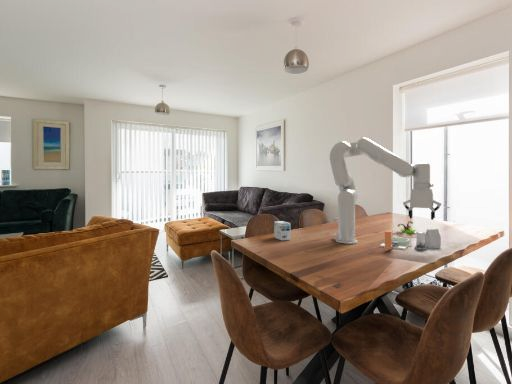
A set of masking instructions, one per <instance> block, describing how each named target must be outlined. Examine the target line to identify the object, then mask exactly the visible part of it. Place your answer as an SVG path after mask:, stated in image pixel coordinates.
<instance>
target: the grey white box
mask: <svg viewBox="0 0 512 384" xmlns="http://www.w3.org/2000/svg"><path fill="white" fill-rule="evenodd" d="M441 243H442V237H441V234H440V231H439V229H438V228H433V229H432V228H431V229H430V228H429V229H426V231H425V247H427V249H441V247H442V246H441V245H442V244H441Z"/></svg>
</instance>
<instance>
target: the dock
mask: <svg viewBox="0 0 512 384" xmlns="http://www.w3.org/2000/svg"><path fill="white" fill-rule="evenodd" d="M392 243H393V244H395V245H394V246H393V247H392V250H393V249H395V250H400V251H405V250H407V249H408V248H409V247H410V245H411V238H403V237H398V236H395V237H394V236H393V242H392ZM379 246H380V247H381V248H385V237H384V238H383V243H381V244H380V245H379Z"/></svg>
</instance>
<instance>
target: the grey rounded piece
mask: <svg viewBox="0 0 512 384" xmlns="http://www.w3.org/2000/svg"><path fill="white" fill-rule="evenodd" d="M415 233H416V238H415V241H416V245H415V246H414V250H417V251H428V248H427V247H425V234H426V231H415Z"/></svg>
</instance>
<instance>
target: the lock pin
mask: <svg viewBox="0 0 512 384" xmlns="http://www.w3.org/2000/svg"><path fill="white" fill-rule="evenodd" d="M393 233H394V231H392V230H385V231H384V238H385V247H384V250H390V251H391V250H393V248H392V247H393V246H394V245H395V244H393V243H392V242H393V237H394V236H393V235H394V234H393Z"/></svg>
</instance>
